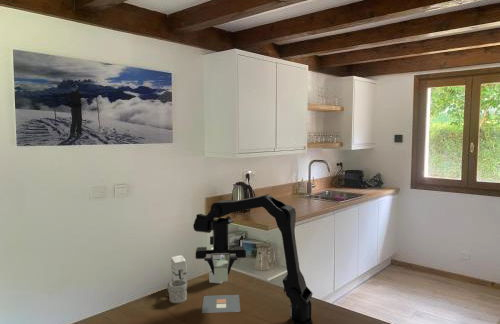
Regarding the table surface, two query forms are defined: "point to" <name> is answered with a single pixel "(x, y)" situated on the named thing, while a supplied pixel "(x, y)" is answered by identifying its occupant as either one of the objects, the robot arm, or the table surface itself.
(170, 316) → the table surface
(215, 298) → the tile
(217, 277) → the sage block
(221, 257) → the syrup box
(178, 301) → the mug
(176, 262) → the ink box
